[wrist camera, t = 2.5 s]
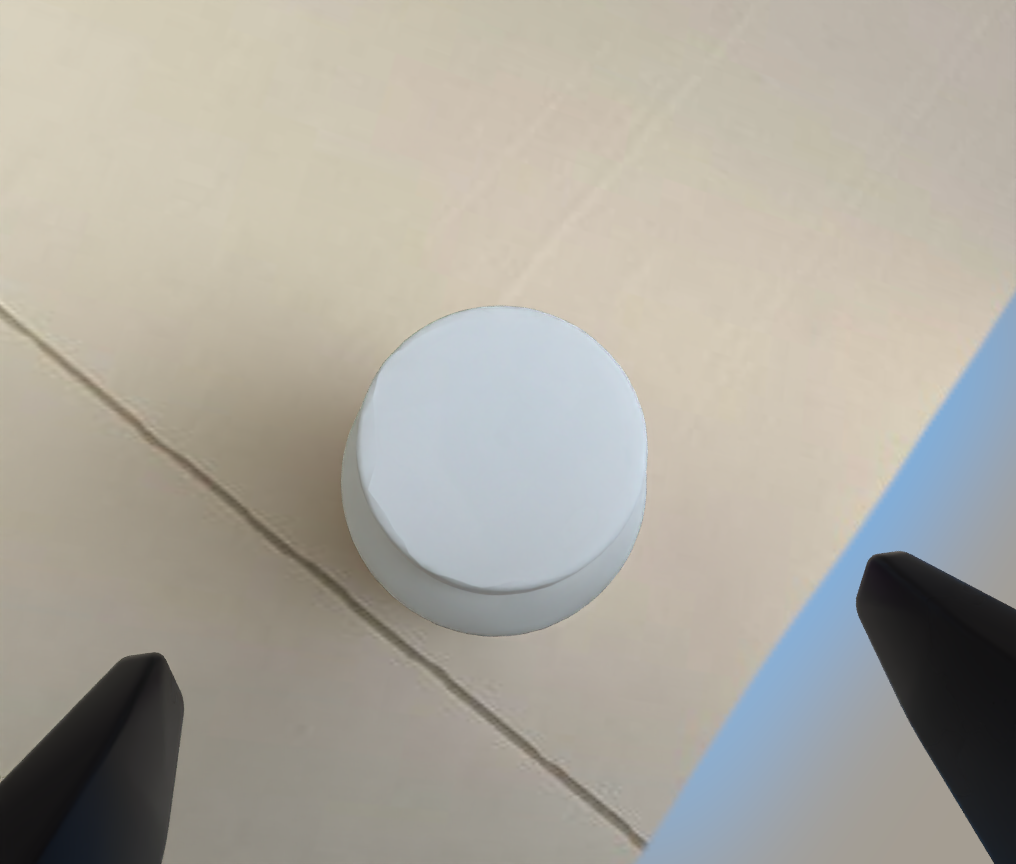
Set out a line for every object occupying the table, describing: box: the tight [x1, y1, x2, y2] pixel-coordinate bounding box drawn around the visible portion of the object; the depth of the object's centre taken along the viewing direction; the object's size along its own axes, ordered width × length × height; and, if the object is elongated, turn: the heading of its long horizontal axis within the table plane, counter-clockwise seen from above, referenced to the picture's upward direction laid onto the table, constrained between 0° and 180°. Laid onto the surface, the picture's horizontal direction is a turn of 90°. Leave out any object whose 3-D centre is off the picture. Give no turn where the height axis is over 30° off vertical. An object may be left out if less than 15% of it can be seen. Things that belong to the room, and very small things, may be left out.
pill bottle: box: [341, 306, 648, 636], centre depth 14 cm, size 5×5×10 cm
